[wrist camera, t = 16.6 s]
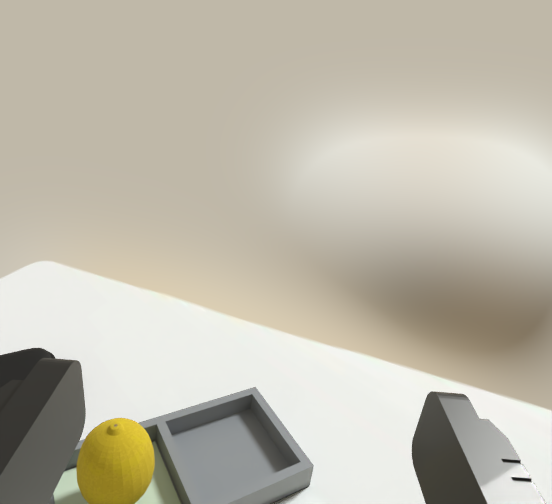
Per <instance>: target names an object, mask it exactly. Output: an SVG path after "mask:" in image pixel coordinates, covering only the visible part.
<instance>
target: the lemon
mask: <svg viewBox="0 0 552 504" xmlns="http://www.w3.org/2000/svg"><path fill="white" fill-rule="evenodd" d="M154 467H155V458H154V448H153V445H152V442H151V440H150V437H149V435H148V433H147V432H146V430H145V429H144V428H143V427H142V426H141V425H140V424H138V423H137V422H135V421H133V420H130V419H125V418H115V419H111V420H107V421H105V422H103V423H101V424H100V425H98V426H97V427H95V428H94V429H93V430H92V431H91V432H90V433H89V434H88V435H87V437H86V439H85V440H84V442H83V444H82V446H81V449H80V452H79V456H78V460H77V467H76V471H77V483H78V486H79V489H80V491H81V494H82V496H83V498H84V499H85V500H86V501H87V502H88V503H89V504H134V503H136V502H137V501H138V500H139V499H140V498H141V497H142V496H143V495H144V493H145V492H146V490H147V488H148V486H149V485H150V482H151V480H152V476H153V472H154Z"/></svg>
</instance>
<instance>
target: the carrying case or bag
mask: <svg viewBox="0 0 552 504" xmlns="http://www.w3.org/2000/svg"><path fill="white" fill-rule="evenodd" d="M42 358H53V359H55V357H54V355H53V354H52V353H50V352H48V351H46V350H44V349H42V348H31V349H26V350H21V351H17V352H13V353H8V354H4V355H0V388H1V387H2V386H4V385H5V384H7V383H8V382H10V381H11V380H25V378H26V377H27V376H28V374H29V373H30V372H31V370H32V369H33V368H34V366H35V365H36V364H37V362H38V361H39V360H40V359H42Z"/></svg>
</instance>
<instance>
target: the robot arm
mask: <svg viewBox="0 0 552 504" xmlns="http://www.w3.org/2000/svg"><path fill="white" fill-rule="evenodd" d="M84 423H85V401H84V390H83V380H82V370H81V365H80V362H79V361H76V360H65V359H53V358H42V359H40V360H39V361H38V362H37V364H36V365H35V366H34V368H33V369H32V370H31V372H30V373H29V374H28V376H27V377H26V378H25V380H11V381H10V382H8V383H7V384H5V385H4V386H2V387H1V388H0V504H48V503H49V501H50V499H51V497H52V495H53V493H54V491H55V489H56V487H57V485H58V483H59V481H60V479H61V476H62V474H63V472H64V470H65V468H66V466H67V464H68V462H69V460H70V458H71V456H72V454H73V452H74V450H75V448H76V446H77V444H78V442H79V440H80V437H81V435H82V432H83V428H84ZM412 459H413V465H414V469H415V472H416V475H417V478H418V481H419V484H420V487H421V490H422V493H423V496H424V499H425V502H426V504H546V502H545V501H544V499H543V497H542V496H541V494H540V492H539V491H538V489H537V487H536V485H535V484H534V483H532V482H531V477H530V475H529V474H528V472H527V470H526V468H525V467H524V465H523V464H521V463H520V461H521V460H520V458H519V457H518V455H517V453H516V451H515V450H514V448H513V446H512V445H511V443H510V441H509V440H508V438H507V437H506V436H505V435H504V434H503V433H502V432H501V431H500V430H499V429H498V428H496V427H495V426H494V425H493V424H492V423H491V422H490V421H489V420H488V419H479V417H478V415H477V413H476V411H475V410H474V408H473V406H472V404H471V402H470V400H469V399H468V397H467V396H466V395H464V394H456V393H444V392H430V393H429V394H428V395H427V398H426V400H425V403H424V406H423V409H422V413H421V416H420V419H419V422H418V425H417V428H416V431H415V434H414V437H413V442H412Z"/></svg>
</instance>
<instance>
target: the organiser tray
mask: <svg viewBox="0 0 552 504" xmlns="http://www.w3.org/2000/svg"><path fill="white" fill-rule="evenodd" d="M138 424H140V425H141V426H142V427H143V428H144V429H145V430H146V432H147V433H148V435H149V437H150V440H151V442H152V445H153V448H154V458H155V467H154V472H153V476H152V480H151V482H150V485H149V486H148V488H147V490H146V492H145V493H144V495H143V496H142V497H141V498H140V499H139V500H138V501H137V502H136V503H134V504H272V503H274V502H276V501H278V500H280V499H282V498H285V497H287V496H289V495H291V494H293V493H295V492H297V491H300V490H302V489H304V488H306V487H308V486H309V485H310V480H311V476H312V471H313V464H312V463H311V461H310V460H309V459H308V457H307V456H306V455H305V453H304V452H303V451H302V449H301V448H300V447H299V445H298V444H297V443H296V441H295V440H294V439H293V437H292V436H291V434H290V433H289V432H288V430H287V429H286V428H285V426H284V425H283V424H282V422H281V421H280V420H279V418H278V417H277V416H276V414H275V413H274V412H273V410H272V409H271V407H270V406H269V405H268V403H267V402H266V401H265V399H264V398H263V397H262V395H261V394H260V393H259V391H258V390H257V389H256V387H254V388H250V389H247V390H244V391H241V392H237V393H234V394H231V395H228V396H224V397H221V398H218V399H215V400H211V401H208V402H205V403H202V404H198V405H195V406H192V407H189V408H185V409H182V410H179V411H176V412H172V413H169V414H166V415H163V416H159V417H156V418H153V419H150V420H146V421H143V422H140V423H138ZM84 440H85V439H84ZM84 440H81V441H79V442H78V444H77V446H76V448H75V450H74V452H73V454H72V456H71V458H70V460H69V462H68V464H67V466H66V468H65V470H64V472H63V474H62V476H61V479H60V481H59V483H58V485H57V487H56V489H55V491H54V493H53V495H52V497H51V499H50V501H49V503H48V504H89V503H88V502H87V501H86V500H85V499H84V498H83V496H82V494H81V491H80V489H79V486H78V483H77V471H76V467H77V460H78V456H79V452H80V449H81V446H82V444H83V442H84Z"/></svg>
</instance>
